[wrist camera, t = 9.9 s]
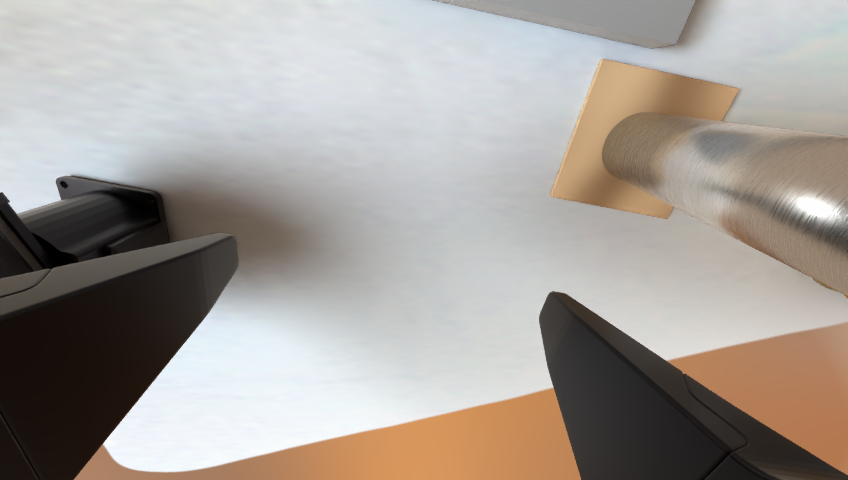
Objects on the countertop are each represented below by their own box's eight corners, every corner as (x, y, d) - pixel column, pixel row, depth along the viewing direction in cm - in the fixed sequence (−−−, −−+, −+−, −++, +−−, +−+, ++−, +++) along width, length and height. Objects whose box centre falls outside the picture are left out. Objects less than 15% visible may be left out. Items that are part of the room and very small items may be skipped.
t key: (598, 199, 21) (891, 403, 8) (605, 100, 19) (1065, 138, 5) (664, 190, 21) (1097, 388, 7) (679, 87, 18) (1398, 91, 5)
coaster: (549, 195, 21) (551, 196, 21) (600, 59, 18) (603, 59, 18) (663, 216, 22) (667, 218, 22) (733, 88, 18) (739, 88, 18)
